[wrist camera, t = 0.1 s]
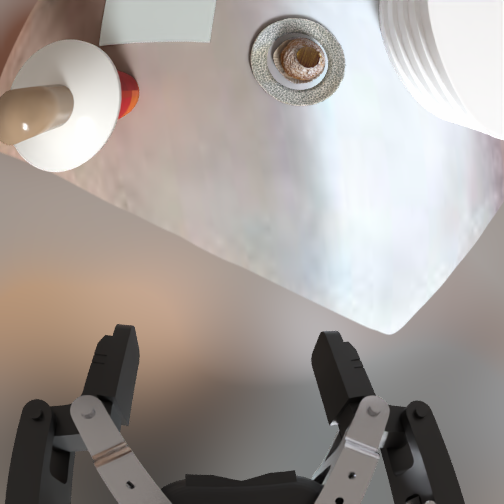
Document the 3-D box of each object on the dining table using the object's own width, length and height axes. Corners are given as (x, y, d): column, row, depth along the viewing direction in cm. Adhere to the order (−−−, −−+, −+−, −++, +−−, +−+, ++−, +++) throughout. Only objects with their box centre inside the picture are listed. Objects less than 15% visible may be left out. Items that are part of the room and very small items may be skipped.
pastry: (354, 89, 34) (370, 90, 30) (272, 119, 35) (279, 123, 31) (320, 10, 28) (333, 2, 24) (233, 37, 29) (235, 30, 25)
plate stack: (513, 43, 27) (556, 49, 17) (471, 153, 39) (517, 176, 29) (409, -63, 19) (451, -82, 9) (348, 53, 31) (394, 45, 21)
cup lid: (15, 54, 14) (-36, 56, 8) (128, 32, 16) (92, 14, 10) (16, 171, 20) (-30, 201, 14) (120, 167, 22) (86, 199, 16)
